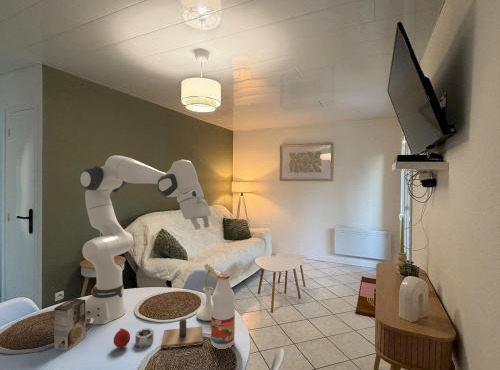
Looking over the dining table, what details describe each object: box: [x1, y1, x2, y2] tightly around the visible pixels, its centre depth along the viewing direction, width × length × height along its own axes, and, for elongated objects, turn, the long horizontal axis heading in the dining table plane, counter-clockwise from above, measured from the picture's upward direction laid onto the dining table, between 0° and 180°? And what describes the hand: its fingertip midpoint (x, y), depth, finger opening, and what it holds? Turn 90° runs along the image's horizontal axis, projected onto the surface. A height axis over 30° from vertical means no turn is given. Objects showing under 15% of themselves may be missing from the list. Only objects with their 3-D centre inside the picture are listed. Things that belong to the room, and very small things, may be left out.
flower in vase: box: [195, 263, 217, 322], centre depth 129 cm, size 13×11×25 cm
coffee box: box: [53, 297, 87, 352], centre depth 106 cm, size 9×6×16 cm
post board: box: [160, 318, 204, 349], centre depth 110 cm, size 16×11×9 cm
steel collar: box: [134, 327, 154, 349], centre depth 107 cm, size 6×6×4 cm
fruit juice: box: [210, 272, 236, 350], centre depth 108 cm, size 9×9×28 cm
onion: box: [113, 327, 131, 349], centre depth 104 cm, size 6×6×8 cm
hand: (202, 228), depth 108 cm, fingers open, 8 cm apart
